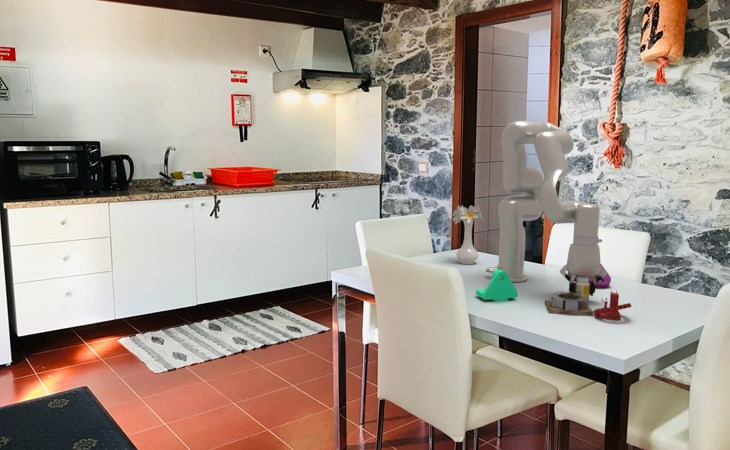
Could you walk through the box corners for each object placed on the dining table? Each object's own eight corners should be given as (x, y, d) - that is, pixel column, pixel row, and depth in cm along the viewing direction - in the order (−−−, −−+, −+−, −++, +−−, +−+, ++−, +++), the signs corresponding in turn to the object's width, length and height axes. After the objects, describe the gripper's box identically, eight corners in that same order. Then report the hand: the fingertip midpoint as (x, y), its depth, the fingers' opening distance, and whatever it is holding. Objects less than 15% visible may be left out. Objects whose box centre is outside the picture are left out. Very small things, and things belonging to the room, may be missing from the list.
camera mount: (506, 294, 212) (507, 265, 210) (517, 300, 205) (518, 270, 203) (474, 296, 209) (475, 267, 207) (484, 302, 202) (485, 272, 200)
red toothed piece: (604, 310, 195) (606, 284, 194) (638, 320, 185) (640, 293, 183) (581, 314, 190) (583, 288, 188) (614, 325, 179) (616, 297, 178)
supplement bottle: (588, 300, 206) (590, 275, 205) (588, 303, 201) (590, 278, 200) (573, 298, 207) (575, 274, 206) (573, 302, 203) (575, 277, 202)
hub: (552, 309, 190) (553, 298, 189) (547, 300, 201) (548, 289, 200) (590, 311, 188) (591, 300, 187) (583, 301, 199) (584, 290, 198)
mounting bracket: (608, 301, 226) (588, 271, 241) (615, 284, 222) (594, 254, 236) (584, 302, 225) (565, 271, 240) (591, 284, 220) (571, 254, 235)
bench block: (549, 313, 190) (549, 309, 190) (544, 303, 201) (544, 300, 201) (593, 315, 188) (593, 311, 188) (585, 305, 199) (586, 302, 199)
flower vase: (468, 257, 274) (470, 202, 270) (489, 266, 257) (492, 207, 253) (442, 259, 269) (443, 202, 266) (462, 268, 252) (464, 208, 248)
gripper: (609, 240, 204) (605, 293, 206) (556, 238, 206) (553, 290, 209) (615, 244, 196) (611, 298, 199) (560, 242, 199) (556, 296, 202)
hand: (581, 293), depth 204 cm, fingers open, 5 cm apart
